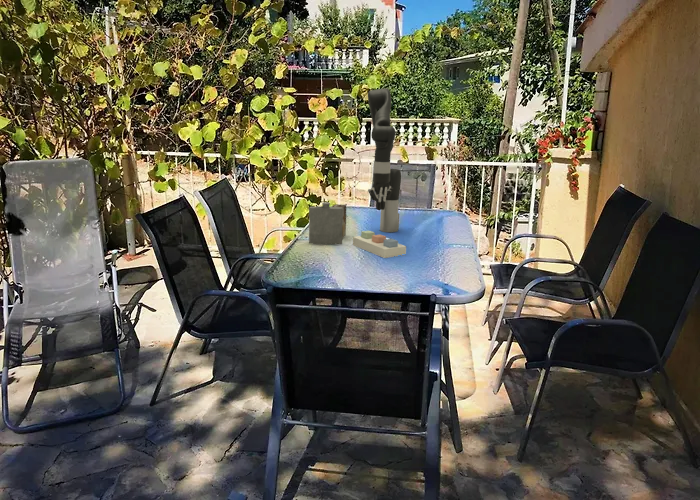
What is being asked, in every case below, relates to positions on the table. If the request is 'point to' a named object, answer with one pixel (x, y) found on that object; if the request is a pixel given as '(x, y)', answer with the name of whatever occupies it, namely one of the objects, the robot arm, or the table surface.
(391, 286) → the table surface
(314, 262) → the table surface
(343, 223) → the coffee box
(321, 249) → the table surface
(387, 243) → the key slate
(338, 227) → the hip flask
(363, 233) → the key sage
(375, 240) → the key terracotta
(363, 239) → the button panel
